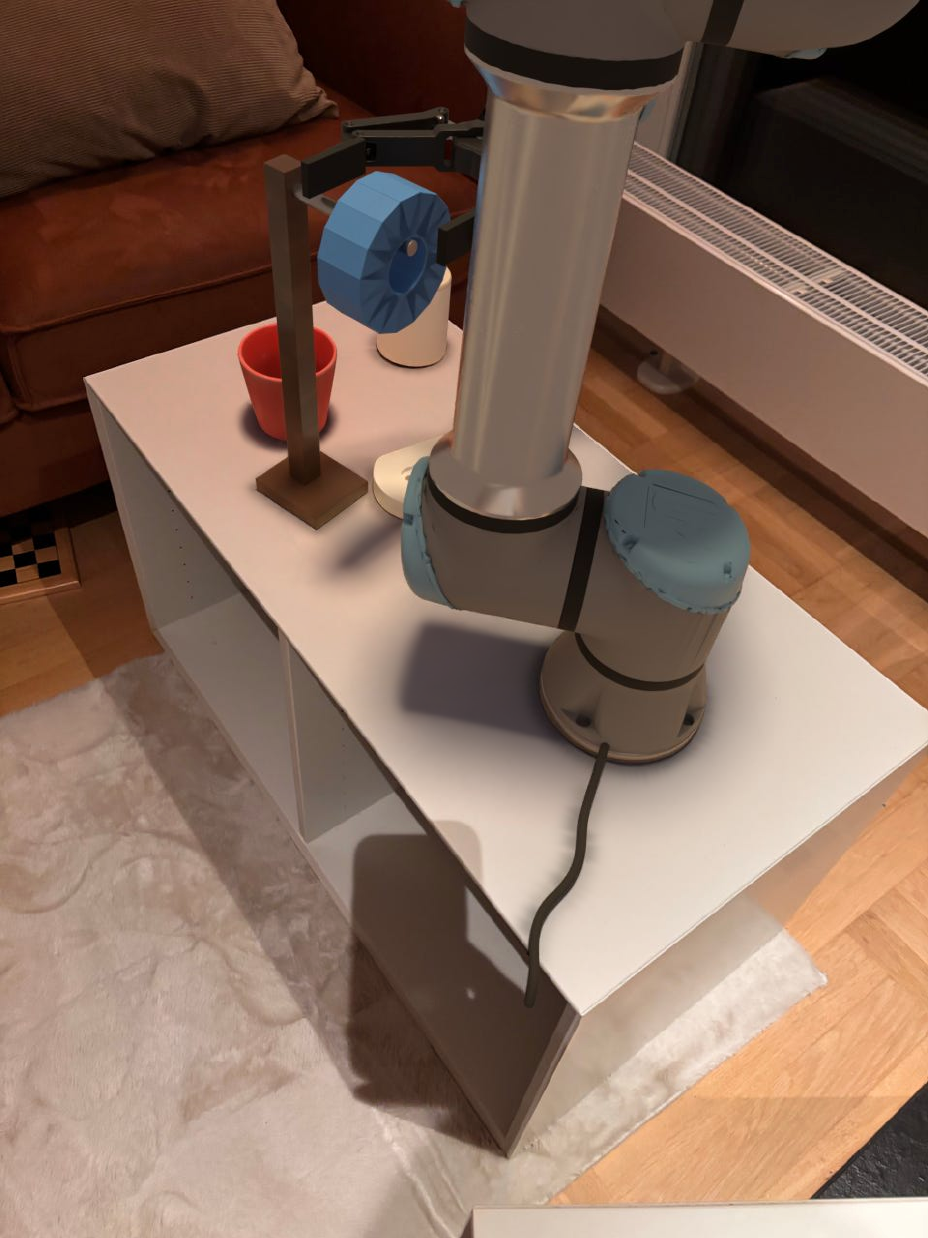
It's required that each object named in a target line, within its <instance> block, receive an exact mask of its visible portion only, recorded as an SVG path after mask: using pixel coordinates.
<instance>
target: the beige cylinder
mask: <svg viewBox="0 0 928 1238" xmlns="http://www.w3.org/2000/svg"><path fill="white" fill-rule="evenodd" d="M451 290H452V273H451V270H450V269H449V268H448V267H447V268H446V271H445V274H444V277H443V281H442V283H441V285H440V286H439V288H438V290H437V292H436V294H435V296H434V298H433V299H432V301H431V303H430V305H428V307H427V308H426V309H425V310H424V311H423V312H422V313H421V315H420V316H419V317H418V318H417V319H416V320H415V322H414V323H412V324H410V325H409V326H407V327H405V328H404V329H402V330H401V331H399V332H397V333H387V334H379V333H377V332H376V340H375V341H376V342H375V343H376V348H377V350H378V352H379V354H381V355H382V356H383V357H384V358H385V359H387V360H389V361H390V362H393V363H396V364H399V365H402V366H406V367H407V366H408V367H426V366H430V365H433V364H436V363H437V362H439V361H441V360H442V359H443V358H444V357H445V355H446V351H447V343H448V342H447V340H448V328H449V318H450V317H449V315H450V301H451Z"/></svg>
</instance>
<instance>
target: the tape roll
mask: <svg viewBox="0 0 928 1238" xmlns="http://www.w3.org/2000/svg"><path fill="white" fill-rule="evenodd" d="M336 202H337V204H336V206H335V208H334V210H333V211H332V213H331V215H330V216H328V217H329V218H328V219H327V221H326V224H325V225H324V226H323V230H322V234H321V240H320V244H319V248H318V252H317V256H316V258H317V276H318V277H317V279H318V280H317V281H318V282H317V283H318V285H319V288H320V290H321V292H322V293H321V294H322V295H323V297H324V299H325V302H326V304H328V305H330V306H331V307H332V308H334V309H335V310H336V311H338V312H339V313H341V314H343V315H344V316H346V317H348V318H350V319H352V320H354V321H355V322H356V323H359V324H360V325H363V326H364V327H366V328H368V329H369V330H372V331H374V332H375V333H376V334H377V333H379V334H387V333H397V332H399V331H401V330H402V329H404V328H405V327H407V326H409V325H410V324H412V323H414V322H415V320H416V319H417V318H418V317H419V316H420V315H421V313H422V312H423V311H424V310H425V309H426V308H427V307H428V305H430V303H431V301H432V299H433V298H434V296H435V294H436V292H437V290H438V288H439V286H440V285H441V283H442V281H443V277H444V274H445V271H446V268H448V265H446V266H445V267H443V266H441V265H439V264H437V263H436V254H437V238H438V227H440V226H442V225H444V224H446V223H448V222H449V221H451V214H450V211H449V206H447V205H446V203H445V202H444V201H443V199H441V197H440V196H439V195H438V194H437V193H436V192H433V191H432V190H429V189H428V188H425V187H422V186H420V185H419V184H416V183H415V182H412V181H409V180H408V179H406V178H404V177H401V176H399V175H397V174H395V173H390V172H389V173H388V172H383V171H378V170H376V171H374V172H371V173H370V174H369V173H368V174H367V175H365V176H363V177H361V178H359V179H358V178H357V179H356V180H355V182H353V184H352V185H351V186H350V187H349V188H348V189H347V190H346V191H345V192H344V193H343V194H342V196H341V197H340V198H339V199H338V200H337V201H336ZM410 238H411V239H413V240H415V241H416V242H417V250H416V252H415V254H414V255H413V256H408V255H406V254H404V253H402V252H400V251H398V250H397V249H398V248H399V247H400V246H401V245H402V244H403V243H404V241H406V240H408V239H410Z"/></svg>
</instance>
